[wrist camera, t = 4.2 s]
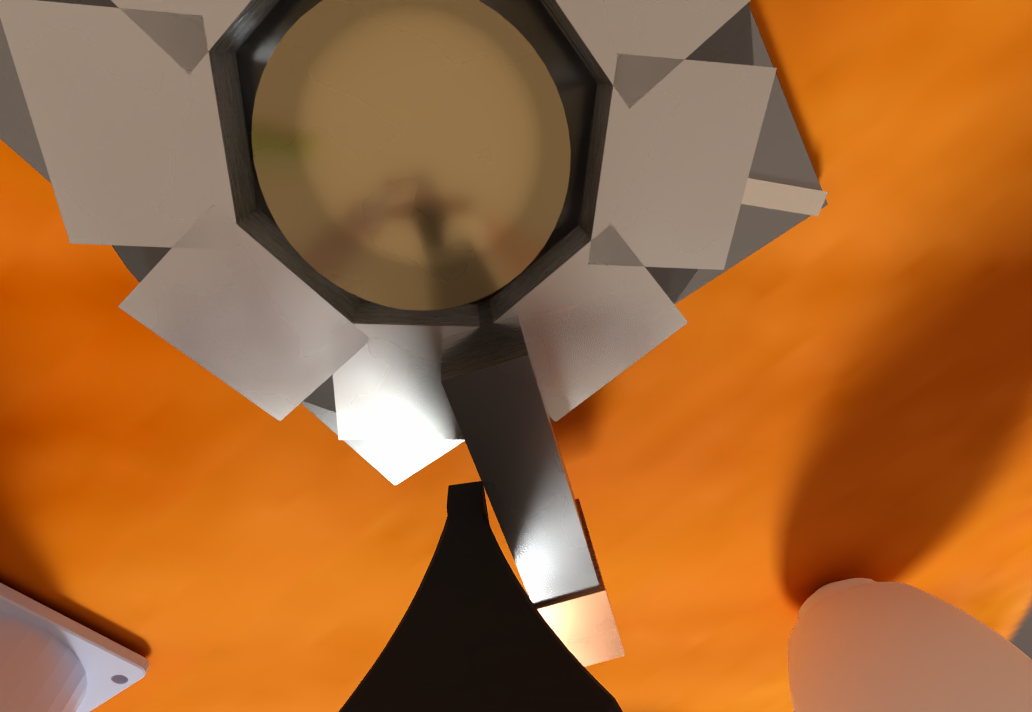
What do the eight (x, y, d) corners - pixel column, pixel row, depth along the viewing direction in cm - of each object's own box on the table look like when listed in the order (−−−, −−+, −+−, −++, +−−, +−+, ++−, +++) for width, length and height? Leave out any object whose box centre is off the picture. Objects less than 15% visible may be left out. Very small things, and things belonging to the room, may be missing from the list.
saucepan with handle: (555, 587, 17) (574, 686, 14) (-79, 116, 9) (-287, 136, 7) (922, 345, 14) (1032, 411, 11) (421, -610, 6) (400, -1067, 4)
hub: (398, 473, 17) (381, 601, 13) (-78, 46, 11) (-394, 37, 7) (816, 199, 14) (962, 254, 10) (498, -589, 8) (544, -1250, 4)
